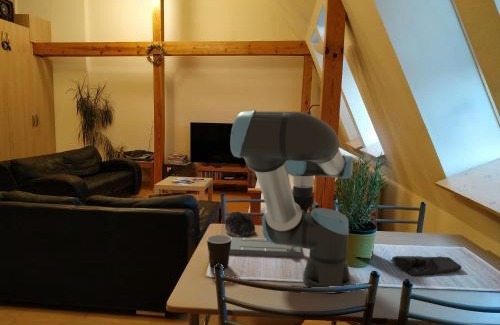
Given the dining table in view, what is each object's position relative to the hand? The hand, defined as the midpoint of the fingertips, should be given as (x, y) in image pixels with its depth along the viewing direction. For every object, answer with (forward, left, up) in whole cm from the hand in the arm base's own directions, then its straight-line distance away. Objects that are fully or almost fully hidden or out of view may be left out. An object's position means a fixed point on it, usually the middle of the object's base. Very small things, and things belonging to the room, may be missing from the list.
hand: (300, 245), depth 135 cm
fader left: (0, +5, -1) cm, 5 cm away
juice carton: (+1, -24, -4) cm, 25 cm away
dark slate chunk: (-7, -45, -4) cm, 46 cm away
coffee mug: (-13, +30, -4) cm, 32 cm away
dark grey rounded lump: (+23, +25, -4) cm, 34 cm away
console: (+3, +14, -3) cm, 14 cm away
